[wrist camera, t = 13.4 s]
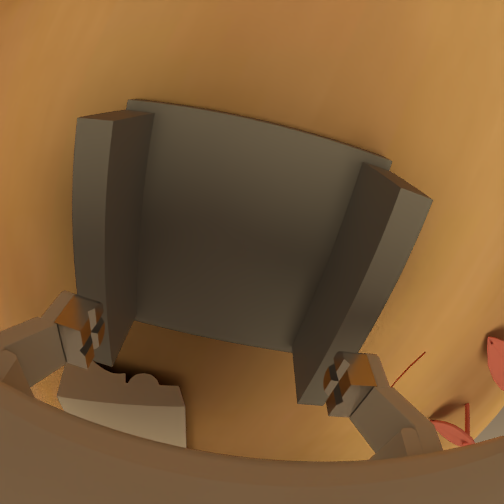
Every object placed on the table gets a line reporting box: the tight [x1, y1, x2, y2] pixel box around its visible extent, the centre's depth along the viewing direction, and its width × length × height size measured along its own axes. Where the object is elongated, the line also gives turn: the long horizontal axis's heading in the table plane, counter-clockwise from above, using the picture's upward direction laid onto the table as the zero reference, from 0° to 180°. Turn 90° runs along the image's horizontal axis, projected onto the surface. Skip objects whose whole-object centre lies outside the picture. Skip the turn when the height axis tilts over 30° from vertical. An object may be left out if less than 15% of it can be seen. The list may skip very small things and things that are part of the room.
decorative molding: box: [57, 361, 186, 448], centre depth 29 cm, size 34×5×10 cm
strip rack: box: [72, 99, 433, 406], centre depth 15 cm, size 13×13×6 cm
